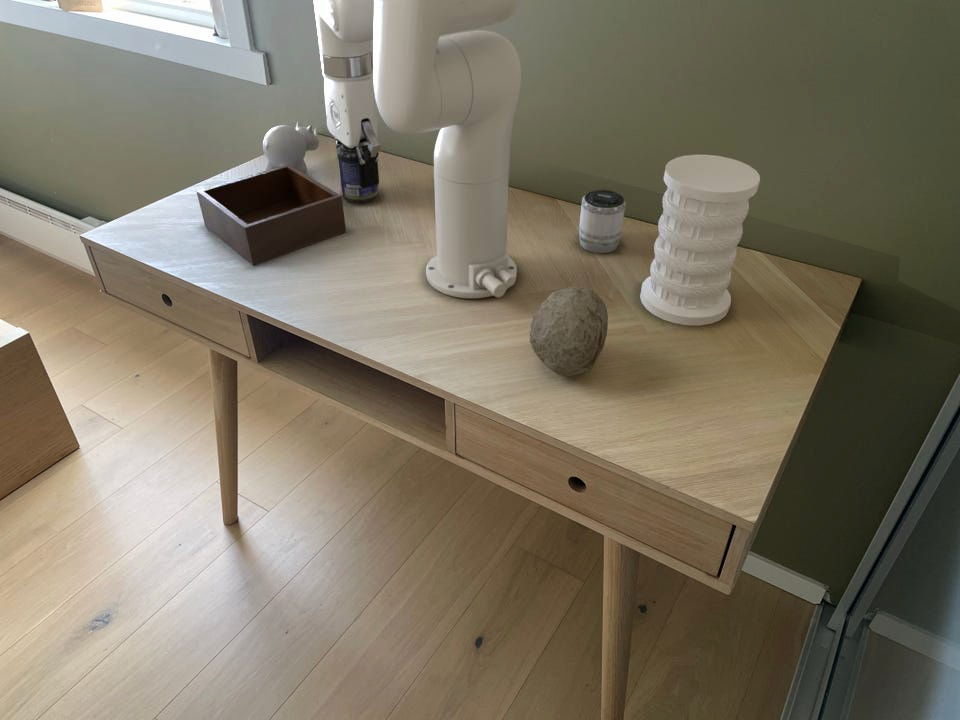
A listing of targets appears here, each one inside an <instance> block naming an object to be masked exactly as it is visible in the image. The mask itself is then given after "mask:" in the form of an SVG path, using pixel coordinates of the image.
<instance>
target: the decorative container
mask: <svg viewBox="0 0 960 720" xmlns="http://www.w3.org/2000/svg"><path fill="white" fill-rule="evenodd" d="M663 182H664V185H666V186H667V187H666V190H665V192H664V194H663V196H662V209H663V210H662V213H661V215H660V218H659V219H658V223H657V228H658V229H657V230H658V236H657V238H656V240H655V241H654V244H653V245H654V246H653V250H654V251H653V252H654V258H653V260H652V262H651V264H650V268H649V272H650V275H649V276H648V277H646V278H645V279H644V280H643V282H642V284H641V289H640V295H639V300H640V302H641V304H642V306H643V307H644V308H645V310H646V311H648V312H650V313H651V314H652V315H654V316H655V317H657V318H659V319H661V320H664V321H667V322H669V323H673V324H676V325H682V326H694V327H695V326H696V327H697V326H705V325H711V324H715V323H716V322H719V321H721V320H722V319H723V318H725V317H726V316H727V314H729V310H730V308H731V304H732V296H731V293H730V292H729V289H727V288H728V287H729V285H730V283H731V279H732V272H731V269H732V268H733V266H734V265H735V263H736V261H737V257H738V256H737V253H738V252H737V246H738V245H739V243H740V241H742V240H741V238H743V234H744V233H743V222H744V221H745V220H746V219H747V217H748V214H749V210H750V202H749V199H750V198H752V197H754V196H755V195H756V193H757V192H758V191H759V186H760V182H761V175H760V174H759V173H758V171H757V169H755V168H753V167H752V166H751V165H748V164H747V163H744V162H742V161H740V160H737V159H733V158H730V157H725V156H721V155H713V154H688V155H687V154H686V155H682V156H678V157H675V158H673V159H670V160H669V161H668V162H667V163H666V164H665V169H664V174H663Z"/></svg>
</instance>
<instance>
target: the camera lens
mask: <svg viewBox="0 0 960 720" xmlns="http://www.w3.org/2000/svg"><path fill="white" fill-rule="evenodd" d="M626 205H627V202H626V199H625V198H624V197H623V196H622V195H621V194H620V193H618V192H615V191H613V190H608V189H596V190H591V191H588V192H587V193H586V194H584V195H583V197H582V198H581V205H580V207H581V208H580V216H579V227H578V239H579V244H580V247H582V249H584V250H586V251H588V252H591V253H594V254H606V253H611V252H613V251H615V250H616V249H618V246H619V243H620V242H621V241H620V240H621V237H622V234H623V224H624V218H625V210H626Z"/></svg>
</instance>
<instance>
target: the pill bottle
mask: <svg viewBox="0 0 960 720" xmlns="http://www.w3.org/2000/svg"><path fill="white" fill-rule="evenodd" d="M340 142H341V141H340ZM362 142H367V140H366V139H361V140H360V141H359V143H362ZM341 143H342V142H341ZM366 150H368V147H363V148H362V152H363V155H364V153H365V151H366ZM336 157H337V166H338V173H339V181H340V189H341V196H342V199H343V200H344V201H346V202H347V203H351V204H356V205H363V204H368V203H372V202H374V201H375V200H377V199H378V198H379V196H380V188H379V184H378V185H374V186H369V187H365V188H362V187H360V185H359V175H358V165H357V163H360V162H359V158H358V155H357V152H356V148H355V146H354V148H349V147H347V146H346V145H344V144H343V143H342V145H341V146H340V147H339V148H338V150H337V149H336Z"/></svg>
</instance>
